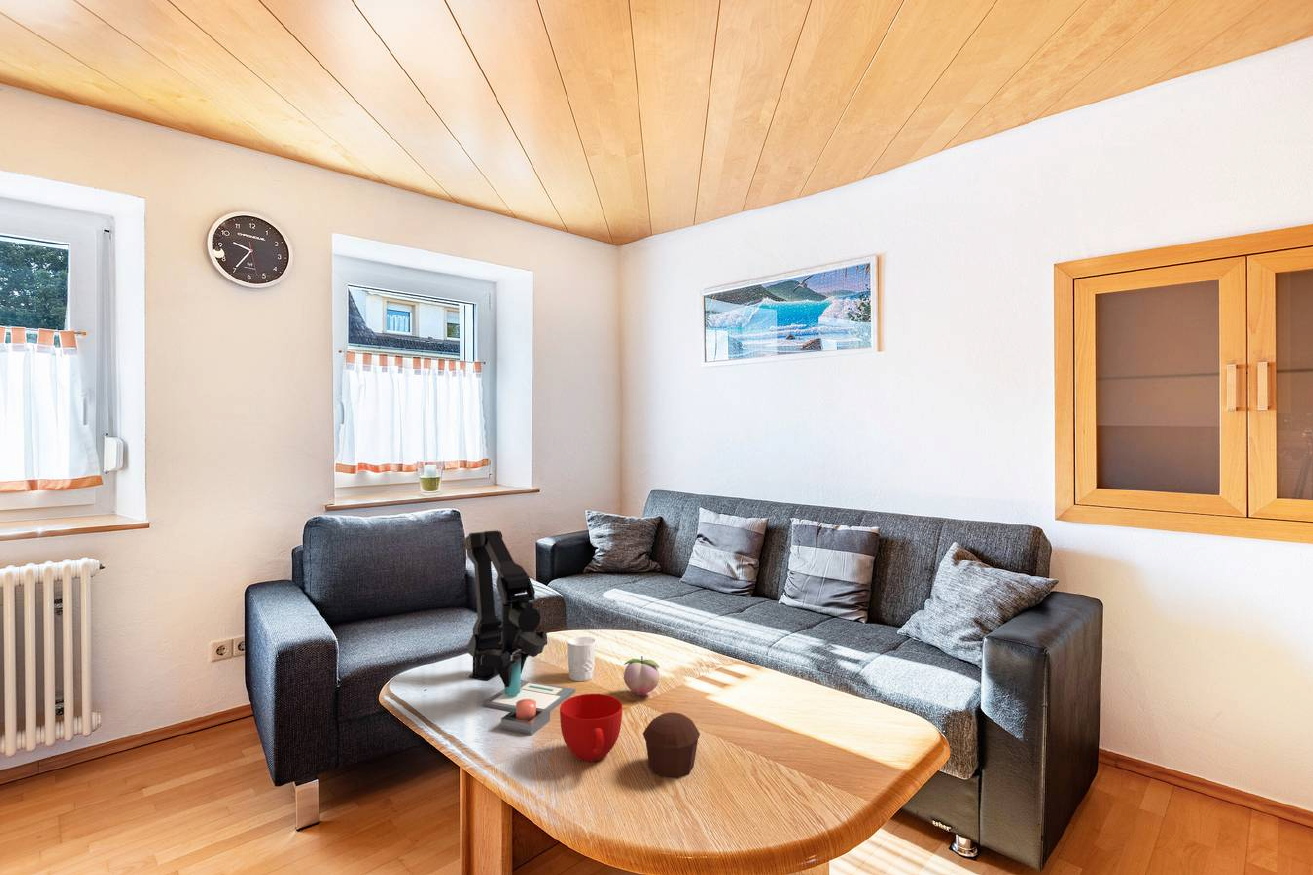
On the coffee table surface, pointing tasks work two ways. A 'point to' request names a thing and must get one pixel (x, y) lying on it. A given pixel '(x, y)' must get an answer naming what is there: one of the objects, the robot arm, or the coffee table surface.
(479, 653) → the robot arm
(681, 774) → the muffin
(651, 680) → the decorative fruit
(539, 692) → the drawing board
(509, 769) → the coffee table surface
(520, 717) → the button
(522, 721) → the button housing
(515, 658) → the marker
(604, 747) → the ceramic cup
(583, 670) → the white cup
